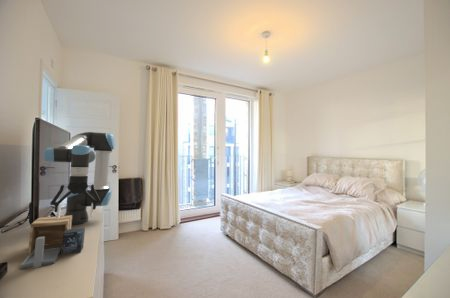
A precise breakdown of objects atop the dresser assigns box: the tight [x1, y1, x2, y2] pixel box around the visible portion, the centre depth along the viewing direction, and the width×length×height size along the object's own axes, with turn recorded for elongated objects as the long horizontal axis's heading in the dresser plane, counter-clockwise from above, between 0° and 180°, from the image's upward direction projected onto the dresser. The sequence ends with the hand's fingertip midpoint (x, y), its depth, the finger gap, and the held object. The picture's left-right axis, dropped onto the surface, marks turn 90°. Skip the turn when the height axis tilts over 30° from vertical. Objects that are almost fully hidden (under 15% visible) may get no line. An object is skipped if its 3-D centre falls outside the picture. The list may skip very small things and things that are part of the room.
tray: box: [19, 236, 62, 270], centre depth 90 cm, size 14×11×12 cm
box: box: [61, 227, 86, 255], centre depth 99 cm, size 8×6×11 cm
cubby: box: [27, 214, 73, 256], centre depth 102 cm, size 11×14×14 cm
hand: (75, 217), depth 99 cm, fingers open, 13 cm apart
